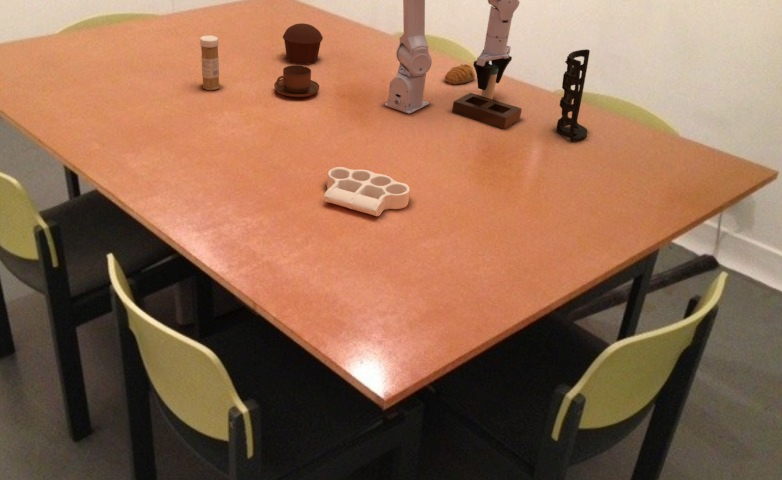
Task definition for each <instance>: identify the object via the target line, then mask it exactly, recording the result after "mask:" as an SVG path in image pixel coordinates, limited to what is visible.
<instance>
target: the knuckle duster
mask: <svg viewBox="0 0 782 480" xmlns="http://www.w3.org/2000/svg"><path fill="white" fill-rule="evenodd" d="M326 183H327V184H326V188H327V190H326V191H325V193H324V194H323V201H324V202H326V203H329V204H333V205H336V206H339V207H343V208H347V209H350V210H354V211H357V212H361V213H364V214H368V215H371V216H374V217H379V216H381V215H382V213H383V211H385V210H402V209H405V208H406V207H407V206H408V205H409V202H410V201H409V200H410V192H411V189H410V186H409V185H408V184H407V183H404V182H399V181H396V180H394V178H392V176H389V175H386V174H384V173H376V172H373V171H371V170H369V169H362V168H361V169H352V168H347V167H344V166H337V167H333V168H331V169H329V171H328V172H327V182H326Z"/></svg>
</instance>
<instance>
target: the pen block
mask: <svg viewBox="0 0 782 480" xmlns="http://www.w3.org/2000/svg"><path fill="white" fill-rule="evenodd" d="M452 103H453V105H452V111H451V113H454V114H456V115H457V114H458V115H461V116H463V117H466V118H469V119H471V120H475V121H478V122H481V123H484V124H487V125H490V126H493V127H495V128H500V129H502V130H505V129H507V128H508V127H510V126H512V125H513V124H515V123H516V122H518V121H520V120H521V115H522V110H523V108H521V107H518V106H515V105H511V104H508V103H505V102H502V101H499V100H496V99H494V98H493V99H489V98H486V97H483V96H481V95H480V94H476V93H473V92H468V93H467V94H464V95H463V96H461V97H459V98H457V99H455V100H454V101H453V102H452Z"/></svg>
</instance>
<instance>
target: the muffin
mask: <svg viewBox="0 0 782 480" xmlns="http://www.w3.org/2000/svg"><path fill="white" fill-rule="evenodd" d="M282 39H283V40H284V47H285V54H286V60H287V61H288V62H289V63H293V64H295V65H310V64H314V63H315V62H317V61H318V57H319V52H320V48H321V43H322V41H323V39H324V36H323V35H322V33H321V32H320V30H319V29H317V27H315V26H313V25H312V24H309V23H303V22H302V23H301V22H300V23H295V24H293V25H291V26H289V27H288V28H286V29H285V31H284V33H283V35H282Z"/></svg>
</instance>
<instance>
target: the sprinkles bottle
mask: <svg viewBox="0 0 782 480" xmlns="http://www.w3.org/2000/svg"><path fill="white" fill-rule="evenodd" d="M199 41H200V42H199V43H200V48H201V75H202V76H201V77H202V88H203V89H204V90H207V91H217V90H218V89H219V88H220V62H219V60H220V59H219V37H217V36H216V35H210V34H207V35H203V36H201V37H200V38H199Z"/></svg>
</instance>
